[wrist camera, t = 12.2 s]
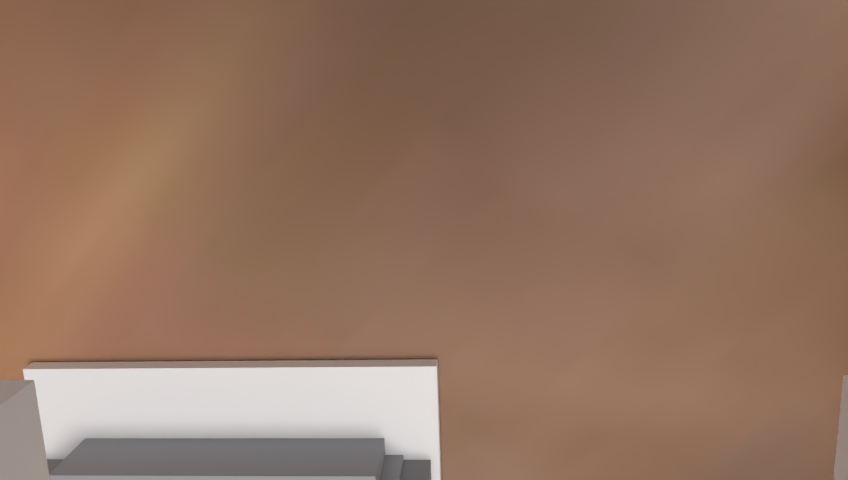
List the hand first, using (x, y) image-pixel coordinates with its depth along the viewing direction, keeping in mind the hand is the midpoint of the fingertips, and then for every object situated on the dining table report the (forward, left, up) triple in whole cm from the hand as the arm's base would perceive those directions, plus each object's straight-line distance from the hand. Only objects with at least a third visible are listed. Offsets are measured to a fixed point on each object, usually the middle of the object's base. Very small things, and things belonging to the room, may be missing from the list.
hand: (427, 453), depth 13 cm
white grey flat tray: (+18, -13, -29) cm, 36 cm away
